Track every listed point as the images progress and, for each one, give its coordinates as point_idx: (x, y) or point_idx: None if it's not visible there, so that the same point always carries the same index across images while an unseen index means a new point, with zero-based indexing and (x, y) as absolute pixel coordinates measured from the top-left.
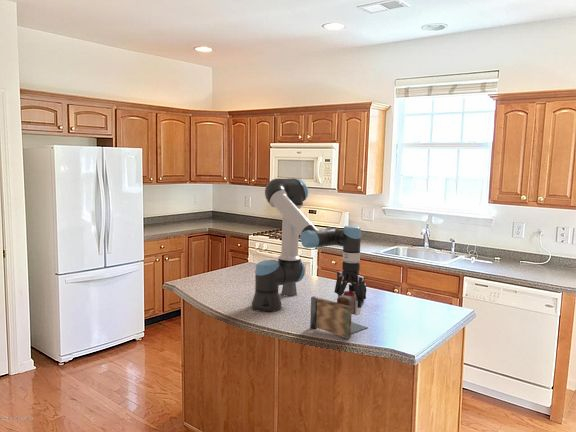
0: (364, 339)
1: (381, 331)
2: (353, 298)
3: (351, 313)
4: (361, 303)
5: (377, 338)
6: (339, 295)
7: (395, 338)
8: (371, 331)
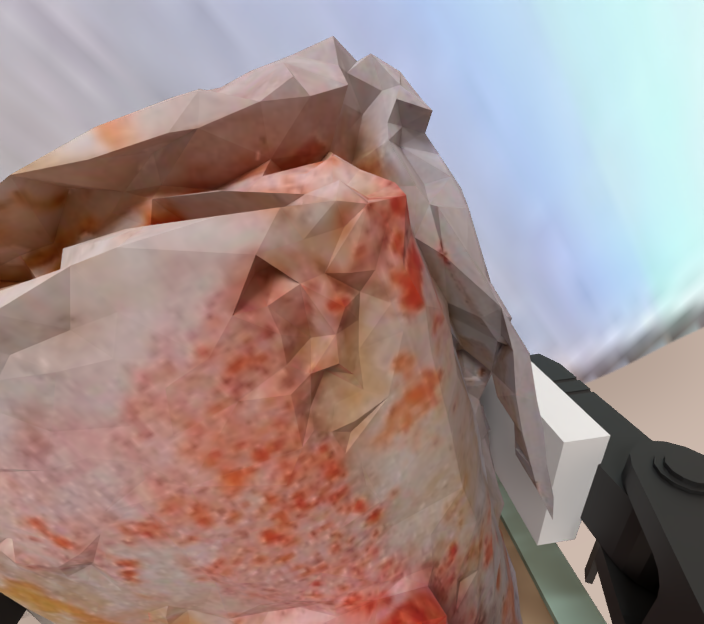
0: (520, 329)
1: (539, 80)
2: (512, 606)
3: (577, 577)
4: (599, 408)
5: (579, 246)
6: (2, 606)
7: (694, 123)
8: (475, 165)
